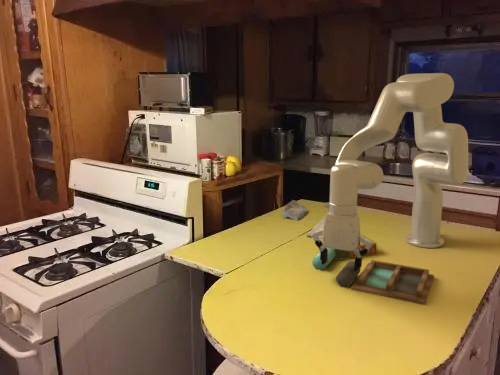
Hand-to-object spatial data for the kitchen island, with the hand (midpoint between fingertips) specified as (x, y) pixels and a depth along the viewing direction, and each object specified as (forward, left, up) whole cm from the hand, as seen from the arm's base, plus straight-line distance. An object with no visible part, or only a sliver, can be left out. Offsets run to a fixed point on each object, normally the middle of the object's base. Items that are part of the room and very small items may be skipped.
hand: (340, 266), depth 125 cm
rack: (-5, +14, -4) cm, 15 cm away
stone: (-54, -37, -5) cm, 66 cm away
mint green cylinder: (-9, -8, -4) cm, 12 cm away
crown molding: (-45, -17, -5) cm, 49 cm away
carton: (-22, -4, -5) cm, 22 cm away
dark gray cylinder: (-1, +1, -3) cm, 3 cm away
